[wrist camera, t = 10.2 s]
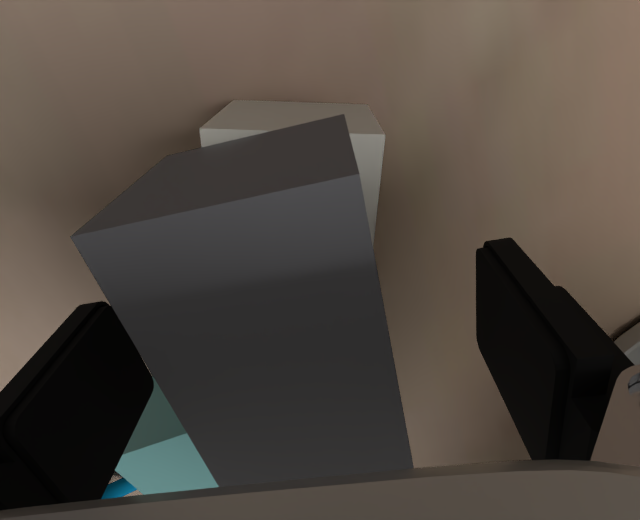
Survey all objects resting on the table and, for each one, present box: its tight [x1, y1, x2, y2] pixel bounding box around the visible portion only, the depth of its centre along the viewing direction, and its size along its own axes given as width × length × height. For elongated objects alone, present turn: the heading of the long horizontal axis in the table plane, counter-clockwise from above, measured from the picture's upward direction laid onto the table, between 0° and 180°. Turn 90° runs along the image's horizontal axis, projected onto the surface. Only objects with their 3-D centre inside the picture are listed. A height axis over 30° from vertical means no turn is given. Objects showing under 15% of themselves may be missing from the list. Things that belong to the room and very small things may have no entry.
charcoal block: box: [70, 114, 414, 487], centre depth 11 cm, size 8×5×5 cm, turn 13°
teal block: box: [115, 377, 219, 495], centre depth 21 cm, size 8×5×5 cm, turn 116°
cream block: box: [199, 100, 385, 245], centre depth 15 cm, size 8×5×5 cm, turn 178°
